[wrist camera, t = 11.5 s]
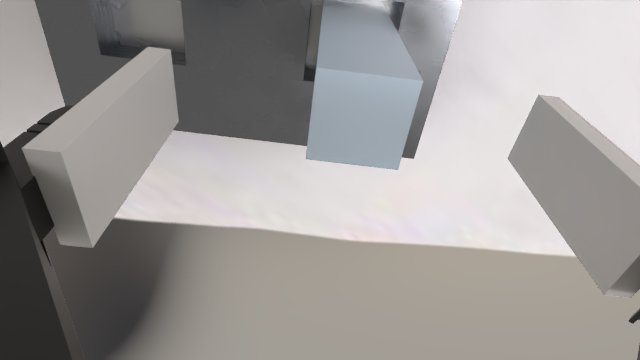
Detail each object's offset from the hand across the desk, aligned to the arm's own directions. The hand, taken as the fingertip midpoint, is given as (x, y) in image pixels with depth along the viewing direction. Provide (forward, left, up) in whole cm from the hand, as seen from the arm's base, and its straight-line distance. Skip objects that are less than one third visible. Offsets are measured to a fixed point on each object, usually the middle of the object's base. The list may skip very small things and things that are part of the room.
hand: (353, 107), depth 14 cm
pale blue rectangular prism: (0, 0, -11) cm, 11 cm away
